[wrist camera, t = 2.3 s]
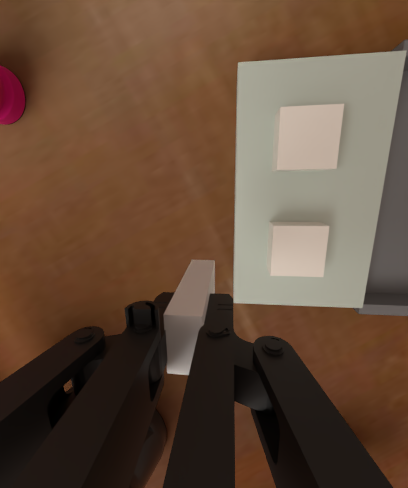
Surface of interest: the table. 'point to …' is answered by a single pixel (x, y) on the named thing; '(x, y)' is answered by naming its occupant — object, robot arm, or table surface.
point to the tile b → (307, 137)
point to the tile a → (297, 248)
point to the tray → (392, 222)
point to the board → (313, 173)
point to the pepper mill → (10, 97)
